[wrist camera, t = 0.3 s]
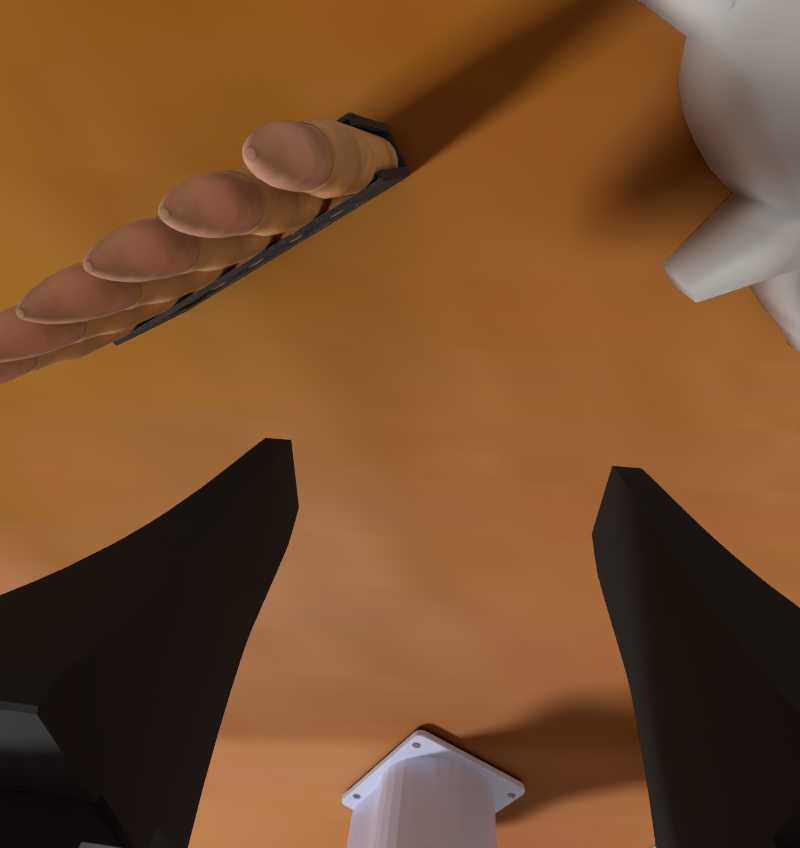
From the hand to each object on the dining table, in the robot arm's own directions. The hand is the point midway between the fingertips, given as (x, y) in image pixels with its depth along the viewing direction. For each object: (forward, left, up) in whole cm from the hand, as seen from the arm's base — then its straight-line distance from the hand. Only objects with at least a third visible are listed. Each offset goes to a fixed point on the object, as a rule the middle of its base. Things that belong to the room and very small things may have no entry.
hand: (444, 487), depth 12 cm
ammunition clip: (0, +8, -10) cm, 13 cm away
